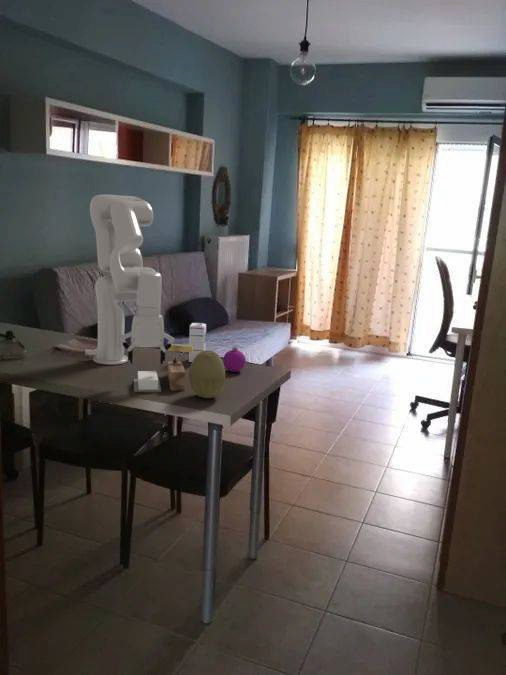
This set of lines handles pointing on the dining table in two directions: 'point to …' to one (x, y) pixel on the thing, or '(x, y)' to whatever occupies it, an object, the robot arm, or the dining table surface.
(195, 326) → the syrup box
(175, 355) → the golden rectangular block
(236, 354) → the christmas ornament
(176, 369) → the housing
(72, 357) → the dining table surface
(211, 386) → the fruit
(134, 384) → the mat
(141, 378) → the cover
